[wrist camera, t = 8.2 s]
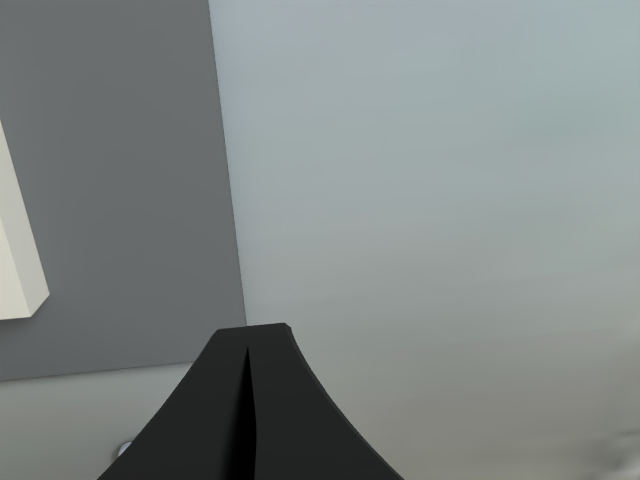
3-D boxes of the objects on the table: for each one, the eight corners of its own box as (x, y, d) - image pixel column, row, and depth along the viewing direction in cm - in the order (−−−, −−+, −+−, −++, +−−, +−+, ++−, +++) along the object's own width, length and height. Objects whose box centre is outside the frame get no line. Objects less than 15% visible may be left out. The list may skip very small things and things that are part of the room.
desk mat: (249, 347, 21) (248, 355, 20) (-112, 382, 19) (-123, 393, 19) (194, -116, 15) (191, -122, 14) (-333, -103, 13) (-359, -109, 13)
